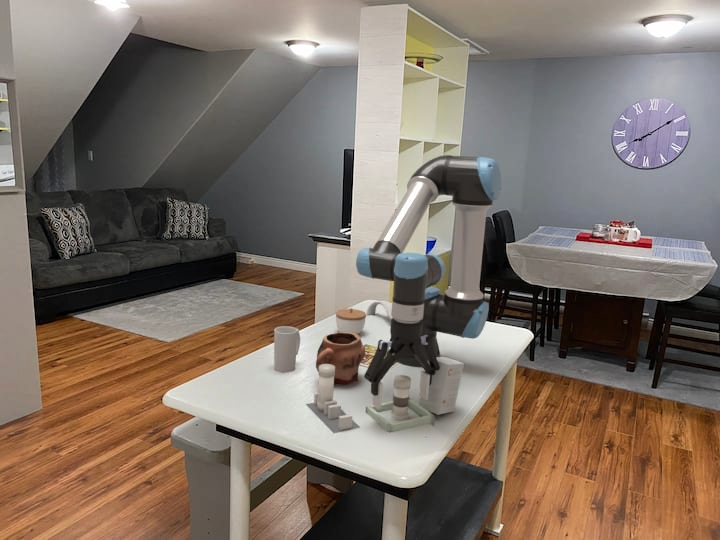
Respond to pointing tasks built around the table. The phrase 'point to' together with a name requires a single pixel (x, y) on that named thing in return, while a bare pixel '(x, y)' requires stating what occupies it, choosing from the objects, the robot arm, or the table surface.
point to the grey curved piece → (386, 305)
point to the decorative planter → (342, 356)
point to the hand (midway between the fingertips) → (400, 402)
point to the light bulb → (401, 397)
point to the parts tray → (423, 419)
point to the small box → (443, 387)
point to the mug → (286, 348)
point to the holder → (330, 403)
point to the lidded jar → (350, 320)
